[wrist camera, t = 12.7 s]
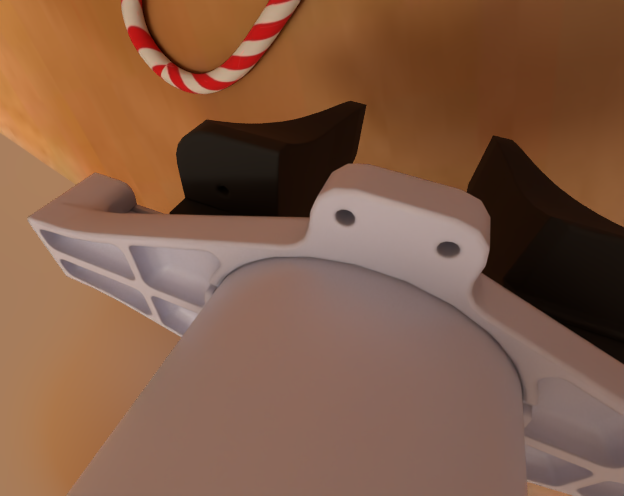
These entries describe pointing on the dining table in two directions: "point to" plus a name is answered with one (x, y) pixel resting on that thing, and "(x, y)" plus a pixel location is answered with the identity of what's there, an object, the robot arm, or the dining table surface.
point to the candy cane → (228, 73)
